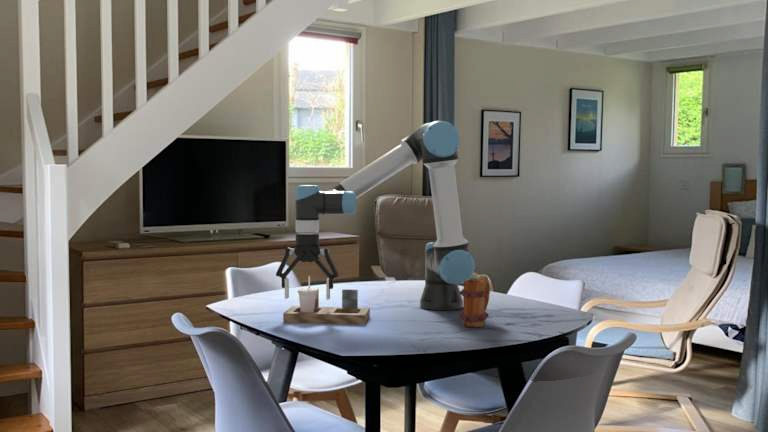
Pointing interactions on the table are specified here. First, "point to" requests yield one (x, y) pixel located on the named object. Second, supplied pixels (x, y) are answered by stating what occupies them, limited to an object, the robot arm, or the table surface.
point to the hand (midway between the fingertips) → (307, 298)
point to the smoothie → (307, 298)
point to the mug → (475, 301)
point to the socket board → (331, 312)
